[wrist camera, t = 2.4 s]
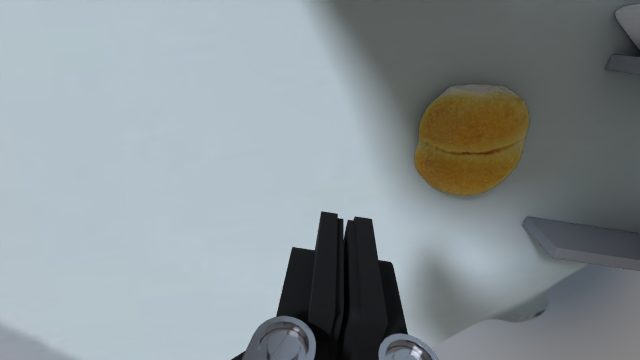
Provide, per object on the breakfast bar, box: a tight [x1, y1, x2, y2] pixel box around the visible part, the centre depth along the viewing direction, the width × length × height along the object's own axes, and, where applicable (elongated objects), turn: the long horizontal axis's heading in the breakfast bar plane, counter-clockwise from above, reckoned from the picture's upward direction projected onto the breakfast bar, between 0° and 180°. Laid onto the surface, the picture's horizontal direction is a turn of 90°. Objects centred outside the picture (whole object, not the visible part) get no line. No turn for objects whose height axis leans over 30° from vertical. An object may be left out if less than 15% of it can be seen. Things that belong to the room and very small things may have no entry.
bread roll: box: [414, 84, 530, 196], centre depth 24 cm, size 8×9×4 cm
